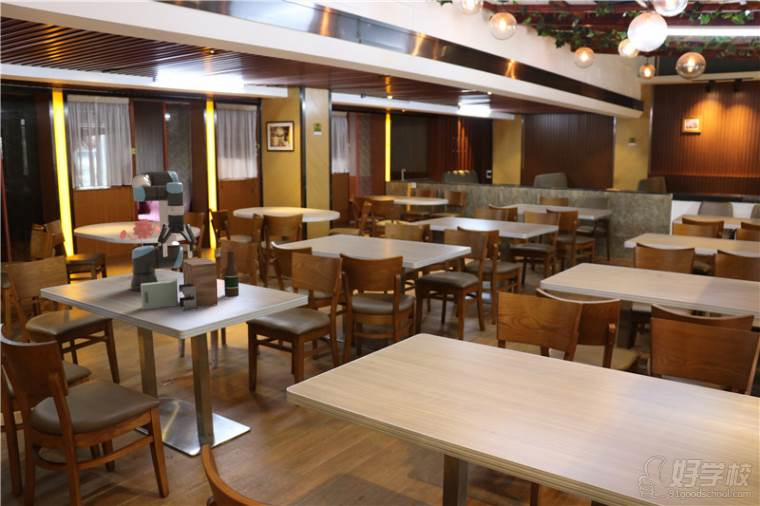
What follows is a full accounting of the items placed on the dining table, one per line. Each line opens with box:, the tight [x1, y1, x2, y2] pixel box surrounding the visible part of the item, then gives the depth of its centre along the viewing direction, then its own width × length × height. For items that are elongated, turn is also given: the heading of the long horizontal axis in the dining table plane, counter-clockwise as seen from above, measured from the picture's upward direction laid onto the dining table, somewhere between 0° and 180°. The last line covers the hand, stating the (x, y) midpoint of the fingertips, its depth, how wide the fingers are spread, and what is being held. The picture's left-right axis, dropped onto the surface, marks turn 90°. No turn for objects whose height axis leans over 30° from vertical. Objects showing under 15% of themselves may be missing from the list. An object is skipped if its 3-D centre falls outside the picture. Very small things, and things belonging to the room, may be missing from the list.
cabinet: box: [182, 257, 219, 308], centre depth 326 cm, size 18×13×21 cm
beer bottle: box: [223, 250, 240, 298], centre depth 342 cm, size 8×8×24 cm
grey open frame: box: [178, 283, 197, 312], centre depth 314 cm, size 8×6×12 cm
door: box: [140, 278, 179, 310], centre depth 317 cm, size 5×17×13 cm, turn 122°
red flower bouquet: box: [119, 218, 163, 277], centre depth 389 cm, size 15×26×35 cm, turn 130°
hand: (177, 257), depth 318 cm, fingers open, 13 cm apart
